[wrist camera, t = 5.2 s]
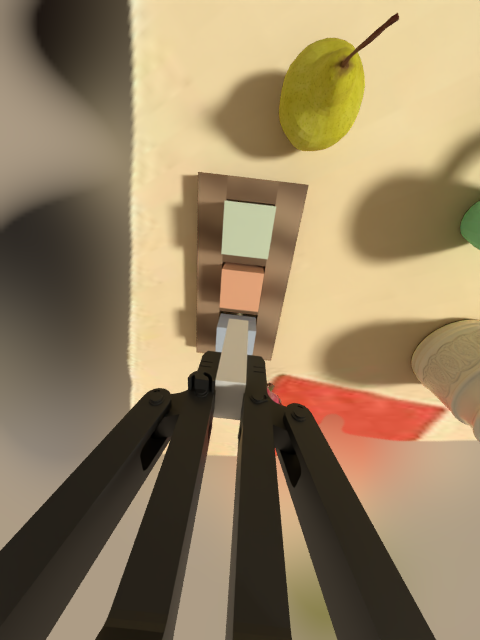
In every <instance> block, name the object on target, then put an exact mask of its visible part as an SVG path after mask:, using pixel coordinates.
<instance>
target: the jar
mask: <svg viewBox="0 0 480 640" xmlns="http://www.w3.org/2000/svg"><path fill="white" fill-rule="evenodd" d="M411 366H412V370H413V372H414V374H415V375H416V377H417V379H418V380H419V381H420V382H421V383H422V384H423V385H424V386H425V387H426V388H427V389H429V390H430V391H431V392H432V393H433V394H434V395H435V396H436V397H437V398H438V399H439V400H440V401H441V402H442V403H443V404H444V405H445V406H446V407H447V408H448V409H449V410H450V411H451V412H452V414H453V415H454V416H455V418H457V419H458V420H459V421H461V422H462V423H464V424H467V425H469V426H470V427H471V428H473V433H474V436H475V437H476V439H477V440H478V441H479V442H480V320H462V321H457V322H454V323H451V324H448V325H445V326H443V327H441V328H439V329H437V330H436V331H434V332H433V333H431V334H430V335H428V336H427V337H426V338H425V339H424V340H423V341H422V342H421V343H420V344H419V345H418V347H417V348H416V350H415V351H414V354H413V356H412V360H411Z"/></svg>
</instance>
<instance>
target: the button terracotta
mask: <svg viewBox="0 0 480 640" xmlns="http://www.w3.org/2000/svg"><path fill="white" fill-rule="evenodd" d="M263 278H264V271H263V266H258V265H249V264H241V263H232V262H225V264H224V266H223V268H222V276H221V292H220V307H219V308H227V309H236V310H245V311H254V312H258V309H259V303H260V297H261V291H262V284H263Z"/></svg>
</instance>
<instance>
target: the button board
mask: <svg viewBox="0 0 480 640" xmlns="http://www.w3.org/2000/svg"><path fill="white" fill-rule="evenodd" d="M307 190H308V185H305V184H296V183H288V182H279V181H271V180H262V179H254V178H245V177H237V176H228V175H220V174H211V173H203V172H198V254H197V352H198V353H206V352H207V351H216V334H217V325H218V322H219V318H220V312H221V311H226V312H235V313H244V314H253V315H257V316H256V336H255V342H254V348H253V354H252V355H254V356H261V357H262V358H263V360H269V361H271V358H272V353H273V348H274V344H275V339H276V334H277V330H278V325H279V320H280V316H281V311H282V306H283V302H284V297H285V292H286V288H287V283H288V278H289V274H290V269H291V264H292V260H293V255H294V250H295V246H296V241H297V236H298V232H299V227H300V222H301V218H302V213H303V208H304V204H305V199H306V194H307ZM228 200H235V201H244V202H252V203H261V204H270V205H274V206H276V212H275V218H274V224H273V230H272V237H271V243H270V249H269V255H268V259H261V258H252V257H243V256H235V255H226V254H221V252H222V235H223V218H224V202H225V201H228ZM224 262H232V263H241V264H249V265H258V266H264V278H263V284H262V291H261V297H260V303H259V309H258V312H254V311H245V310H236V309H227V308H219V307H220V292H221V276H222V268H223V266H224Z"/></svg>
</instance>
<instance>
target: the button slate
mask: <svg viewBox="0 0 480 640" xmlns="http://www.w3.org/2000/svg"><path fill="white" fill-rule="evenodd" d="M229 319H238V320H247V321H248V346H247V355H252V354H253V348H254V342H255V336H256V317H248V316H240V315H231V314H222V313H221V315H220V318H219V322H218V325H217V334H216V351H215V352H222V348H223V344H224V339H225V335H226V330H227V325H228V321H229Z"/></svg>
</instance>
